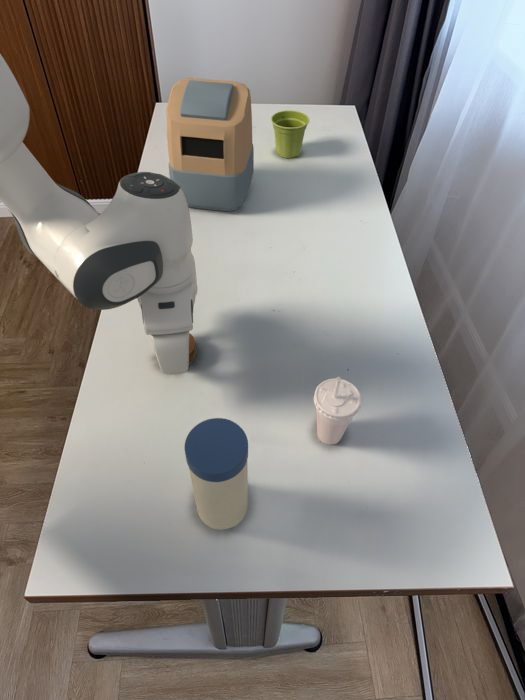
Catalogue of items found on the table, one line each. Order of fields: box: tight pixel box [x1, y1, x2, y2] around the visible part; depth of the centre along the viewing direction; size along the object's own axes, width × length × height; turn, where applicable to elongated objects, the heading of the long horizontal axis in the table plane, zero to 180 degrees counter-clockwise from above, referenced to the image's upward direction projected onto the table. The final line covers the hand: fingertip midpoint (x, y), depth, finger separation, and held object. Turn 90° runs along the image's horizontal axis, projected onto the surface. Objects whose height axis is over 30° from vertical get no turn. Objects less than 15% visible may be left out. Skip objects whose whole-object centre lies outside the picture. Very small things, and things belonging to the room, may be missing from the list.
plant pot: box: [270, 109, 310, 159], centre depth 125 cm, size 9×9×9 cm
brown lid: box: [189, 332, 197, 365], centre depth 82 cm, size 7×7×2 cm
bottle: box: [183, 417, 249, 531], centre depth 61 cm, size 7×7×16 cm
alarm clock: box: [165, 77, 255, 212], centre depth 107 cm, size 17×17×23 cm
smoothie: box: [313, 376, 362, 446], centre depth 70 cm, size 6×6×14 cm
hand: (175, 346), depth 82 cm, fingers closed on brown lid, 6 cm apart
